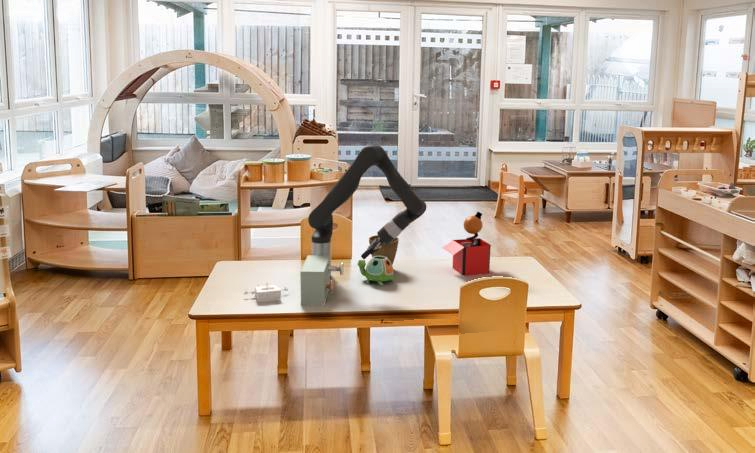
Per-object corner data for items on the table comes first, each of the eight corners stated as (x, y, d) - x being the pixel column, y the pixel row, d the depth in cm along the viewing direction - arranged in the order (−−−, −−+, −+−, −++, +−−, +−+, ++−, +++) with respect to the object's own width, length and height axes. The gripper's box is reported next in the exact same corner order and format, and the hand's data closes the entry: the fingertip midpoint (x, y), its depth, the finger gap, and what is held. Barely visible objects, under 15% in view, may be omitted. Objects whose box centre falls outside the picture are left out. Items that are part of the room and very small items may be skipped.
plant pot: (362, 268, 384) (362, 237, 380) (386, 263, 393) (386, 233, 389) (380, 275, 372) (380, 243, 369) (404, 270, 381) (404, 239, 377)
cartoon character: (285, 295, 351) (292, 299, 336) (241, 299, 345) (246, 304, 330) (284, 277, 351) (291, 281, 335) (240, 281, 345) (245, 285, 329)
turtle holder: (364, 274, 373) (365, 251, 371) (397, 280, 365) (398, 256, 362) (352, 281, 363) (352, 257, 360) (385, 287, 354) (386, 262, 352)
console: (300, 304, 329) (300, 271, 326) (308, 286, 354) (307, 255, 351) (324, 305, 329) (323, 271, 325) (329, 286, 354) (329, 255, 351)
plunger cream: (313, 275, 343) (313, 263, 341) (314, 272, 348) (314, 260, 347) (342, 276, 342) (342, 264, 341) (343, 272, 348) (343, 260, 347)
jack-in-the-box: (487, 264, 393) (490, 207, 386) (500, 272, 379) (503, 213, 372) (440, 268, 386) (442, 209, 379) (452, 276, 372) (454, 216, 365)
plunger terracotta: (302, 293, 332) (302, 281, 331) (303, 289, 338) (303, 277, 336) (332, 294, 332) (332, 281, 331) (333, 290, 337) (333, 278, 336)
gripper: (384, 222, 346) (357, 248, 349) (383, 229, 333) (355, 255, 336) (396, 234, 347) (368, 259, 350) (395, 241, 334) (367, 267, 337)
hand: (362, 257), depth 343 cm, fingers closed
